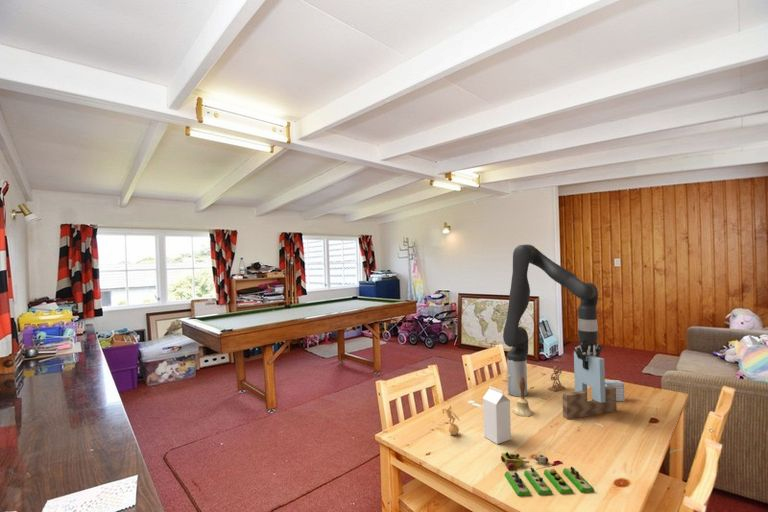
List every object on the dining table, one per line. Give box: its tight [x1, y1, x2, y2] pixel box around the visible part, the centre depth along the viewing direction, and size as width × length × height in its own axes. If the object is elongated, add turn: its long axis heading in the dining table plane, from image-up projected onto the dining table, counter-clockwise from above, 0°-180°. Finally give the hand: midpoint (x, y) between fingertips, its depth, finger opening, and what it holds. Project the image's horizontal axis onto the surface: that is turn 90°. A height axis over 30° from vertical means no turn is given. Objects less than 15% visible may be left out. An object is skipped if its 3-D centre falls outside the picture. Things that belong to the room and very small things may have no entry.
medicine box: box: [605, 379, 625, 402], centre depth 175 cm, size 8×4×9 cm, turn 84°
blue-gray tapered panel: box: [573, 350, 606, 403], centre depth 160 cm, size 14×2×18 cm, turn 15°
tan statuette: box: [547, 365, 566, 393], centre depth 190 cm, size 9×4×12 cm, turn 120°
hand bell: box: [512, 376, 534, 417], centre depth 163 cm, size 8×8×16 cm
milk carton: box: [482, 385, 512, 445], centre depth 141 cm, size 7×7×19 cm
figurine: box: [441, 404, 460, 436], centre depth 145 cm, size 8×6×12 cm
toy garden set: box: [500, 451, 595, 497], centre depth 117 cm, size 23×19×5 cm
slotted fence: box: [562, 386, 617, 420], centre depth 160 cm, size 26×2×10 cm, turn 105°
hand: (588, 368), depth 160 cm, fingers closed on blue-gray tapered panel, 2 cm apart
